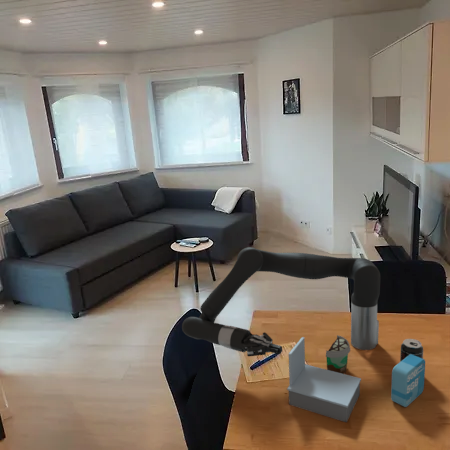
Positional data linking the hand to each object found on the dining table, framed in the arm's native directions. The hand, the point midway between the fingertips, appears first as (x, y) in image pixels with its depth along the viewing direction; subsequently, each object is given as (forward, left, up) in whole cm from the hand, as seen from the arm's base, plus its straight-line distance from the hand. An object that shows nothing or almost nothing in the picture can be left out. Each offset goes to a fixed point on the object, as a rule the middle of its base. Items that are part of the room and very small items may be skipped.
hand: (281, 350), depth 142 cm
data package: (-29, +25, -14) cm, 41 cm away
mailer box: (-7, +12, -14) cm, 20 cm away
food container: (-22, +3, -14) cm, 27 cm away
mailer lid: (-7, +12, -9) cm, 17 cm away
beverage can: (-39, +18, -14) cm, 45 cm away
